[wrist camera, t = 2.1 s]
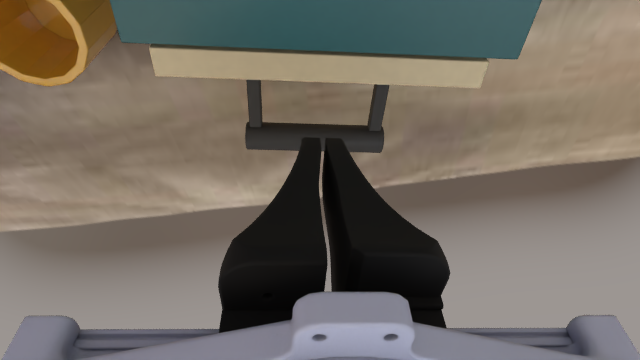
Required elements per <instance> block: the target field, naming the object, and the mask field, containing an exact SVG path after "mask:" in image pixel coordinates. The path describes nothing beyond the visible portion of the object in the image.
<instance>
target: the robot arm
mask: <svg viewBox="0 0 640 360" xmlns="http://www.w3.org/2000/svg"><path fill="white" fill-rule="evenodd" d="M320 161H321V141H320V138H315V137H304V138H303V139H301V146H300V150H299V153H298V156H297V159H296V161H295V163H294V166H293V168H292V170H291V172H290V174H289V176H288V177H287V179H286V181H285V183H284V185H283V186H282V188H281V189H280V191H279V192H278V194H277V195H276V197H275V198H274V199H273V201H272V202H271V203H270V204H269V206H268V207H267V208H266V209H265V211H264V212H263V213H262V214H261V215H260V216H259V217H258V218H257V219H256V220H255V221H254V222H253V223H252V224H251V225H250V226H249V227H248V228H246V229H245V230H244V231H243V232H242V233H240V234H239V235H238V236H237V237H236V238H234V239H233V240H232V242H231V244H230V247H229V248H228V250H227V253H226V255H225V258H224V260H223V263H222V266H221V271H220V276H219V284H218V285H219V286H218V288H219V293H220V298H221V304H222V309H223V310H222V315H221V322H220V328H219V329H110V330H109V329H103V330H101V329H100V330H98V329H96V330H93V329H88V330H80V328H79V325H78V324H77V323H76V321H75V320H74V319H72V318H70V317H67V316H27V317H25V318H24V320H23V322H22V323H21V325H20V327H19V329H18V331H17V332H16V334H15V336H14V338H13V340H12V342H11V343H10V345H9V347H8V349H7V351H6V352H5V354H4V356H3V358H2V360H640V354H639V353H638V351H637V349H636V348H635V346H634V345H633V343H632V341H631V340H630V338H629V337H628V335H627V333H626V332H625V330H624V329H623V327H622V326H621V324H620V322H619V321H618V319H617V318H616V316H614V315H583V316H578V317H575V318H574V319H572V320H571V321H570V323H569V324H568V326H567V327H566V328H446V325H445V321H444V317H443V314H442V310H441V309H443V302H442V298H441V294H442V292H443V290H444V288H445V286H446V284H447V281H448V279H449V275H450V270H449V266H448V262H447V260H446V257H445V255H444V253H443V251H442V249H441V247H440V245H439V243H438V241H437V240H435V239H434V238H432V237H430V236H429V235H427V234H425V233H424V232H422V231H421V230H419V229H418V228H416V227H415V226H413V225H412V224H411V223H409V222H408V221H407V220H405V219H404V218H402V217H401V216H400V215H399V214H398V213H397V212H396V211H395V210H393V209H392V208H391V207H390V206H389V205H388V204H387V203H386V202H385V201H384V200H383V199H382V198H381V197H380V195H379V194H378V193H377V192H376V191H375V190H374V188H373V187H372V186H371V185H370V183H369V182H368V181H367V179H366V178H365V177H364V175H363V174H362V172H361V171H360V169H359V168H358V166H357V165H356V163H355V162H354V160H353V158H352V156H351V155H350V153H349V151H348V149H347V147H346V145H345V143H344V141H343V140H342V139H341V138H325V150H324V162H323V173H322V192H323V205H324V211H325V218H326V225H327V232H328V239H329V246H330V257H331V258H330V259H331V283H332V292H324V288H325V280H326V271H327V248H326V243H325V237H324V231H323V225H322V216H321V206H320V196H319V173H320Z"/></svg>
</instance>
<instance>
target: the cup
mask: <svg viewBox="0 0 640 360" xmlns="http://www.w3.org/2000/svg"><path fill="white" fill-rule="evenodd" d="M116 31H117V25H116V21H115V18H114V14H113V11H112V7H111V3H110V0H0V69H1V70H3V71H4V72H6V73H8V74H10V75H12V76H14V77H15V78H17V79H19V80H21V81H24V82H29V83H33V84H38V85H43V86H55V85H61V84H66V83H70V82H72V81H73V80H74V79H75V78H76V77H78V76H79V75H80V74H81V73H82V72H83V71H84V70H85V69H86V68H87V67H88V66H89V64H90V63H91V62H92V61H93V60H94V58H95V57H96V56H97V55H98V54H99V53H100V51H101V50H102V49H103V48H104V47H105V46H106V44H107V43H108V42H109V41H110V40H111V38H112V37H113V36H114V35H115V33H116Z"/></svg>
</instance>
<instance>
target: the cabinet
mask: <svg viewBox="0 0 640 360" xmlns="http://www.w3.org/2000/svg"><path fill="white" fill-rule="evenodd" d="M541 1H542V0H110V3H111V7H112V11H113V14H114V18H115V21H116V25H117V29H118V32H119V36H120V40H121V42H123V43H145V44H168V45H192V46H215V47H239V48H262V49H286V50H309V51H332V52H356V53H379V54H403V55H426V56H450V57H473V58H496V59H518V57H519V55H520V52H521V50H522V47H523V45H524V43H525V40H526V38H527V35H528V33H529V30H530V28H531V26H532V23H533V21H534V18H535V16H536V13H537V11H538V8H539V6H540V4H541Z"/></svg>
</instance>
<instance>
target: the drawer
mask: <svg viewBox="0 0 640 360" xmlns="http://www.w3.org/2000/svg"><path fill="white" fill-rule="evenodd" d="M149 50H150V55H151V59H152V63H153V68H154V72H155V75H156V76H165V77H191V78H218V79H245V80H247V94H248V109H249V122H247V124H246V134H245V139H246V148H247V149H256V150H294V151H299V150H300V146H301V139H303V138H304V137H315V138H320V141H321V151H324V150H325V138H341V139H342V140H343V141H344V143H345V145H346V147H347V149H348V151H349V152H371V153H380V152H382V149H383V145H384V130H383V127H382V126H381V125H382V120H383V115H384V110H385V105H386V100H387V95H388V89H389V85H405V86H431V87H458V88H480V86H481V84H482V81H483V78H484V75H485V73H486V70H487V67H488V64H489V61H488V60H487V58H473V57H450V56H426V55H403V54H379V53H356V52H332V51H309V50H286V49H262V48H239V47H215V46H192V45H168V44H151V45H150V47H149ZM261 80H271V81H298V82H325V83H351V84H374V89H373V95H372V101H371V107H370V113H369V119H368V126H364V125H332V124H299V123H266V122H262V99H261Z"/></svg>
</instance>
